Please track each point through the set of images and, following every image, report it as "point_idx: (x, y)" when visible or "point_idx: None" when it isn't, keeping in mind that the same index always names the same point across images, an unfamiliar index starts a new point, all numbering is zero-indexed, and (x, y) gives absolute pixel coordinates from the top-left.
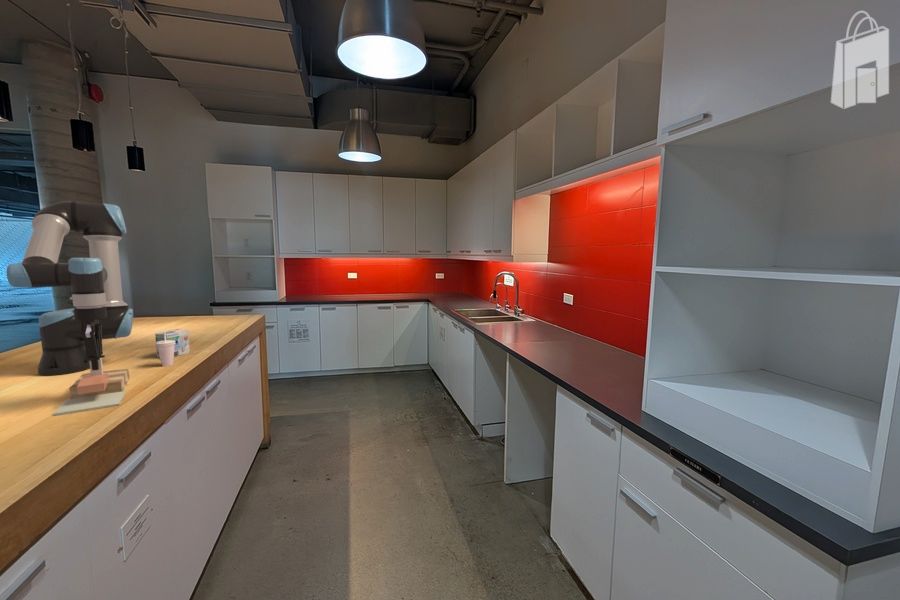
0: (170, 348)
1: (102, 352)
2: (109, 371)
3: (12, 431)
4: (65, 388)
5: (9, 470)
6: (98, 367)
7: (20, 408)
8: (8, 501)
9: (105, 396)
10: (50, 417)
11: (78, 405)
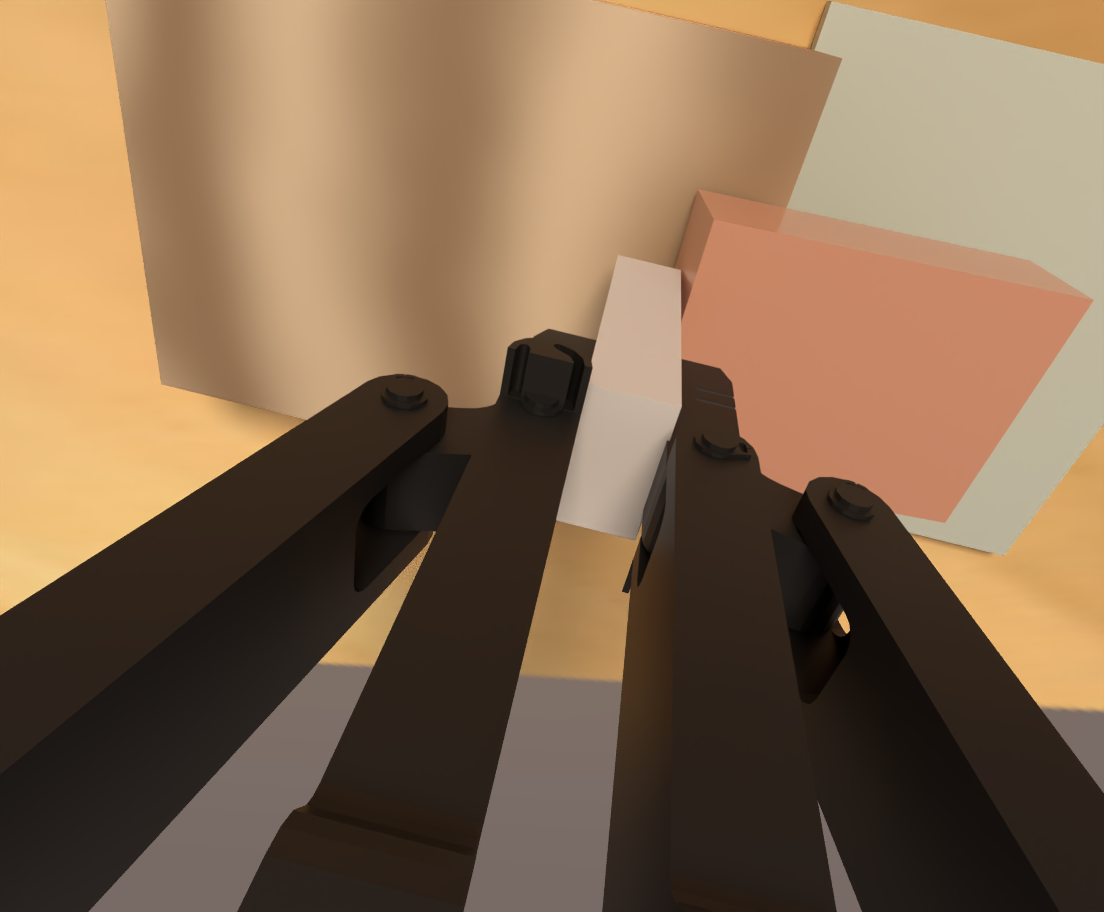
0: None
1: (423, 395)
2: (171, 148)
3: (1092, 695)
4: (268, 441)
5: None
6: (692, 375)
7: (610, 642)
8: None
9: (868, 220)
10: (1013, 559)
11: None
